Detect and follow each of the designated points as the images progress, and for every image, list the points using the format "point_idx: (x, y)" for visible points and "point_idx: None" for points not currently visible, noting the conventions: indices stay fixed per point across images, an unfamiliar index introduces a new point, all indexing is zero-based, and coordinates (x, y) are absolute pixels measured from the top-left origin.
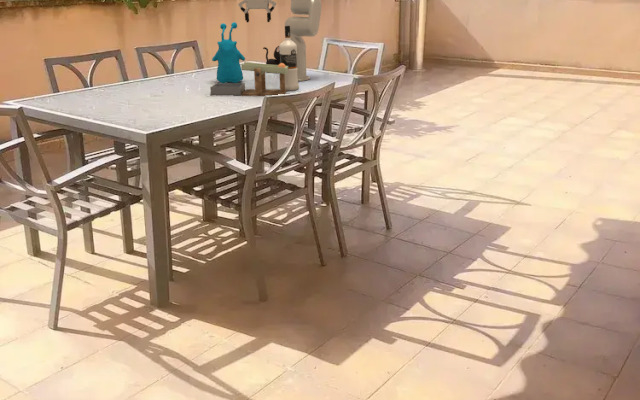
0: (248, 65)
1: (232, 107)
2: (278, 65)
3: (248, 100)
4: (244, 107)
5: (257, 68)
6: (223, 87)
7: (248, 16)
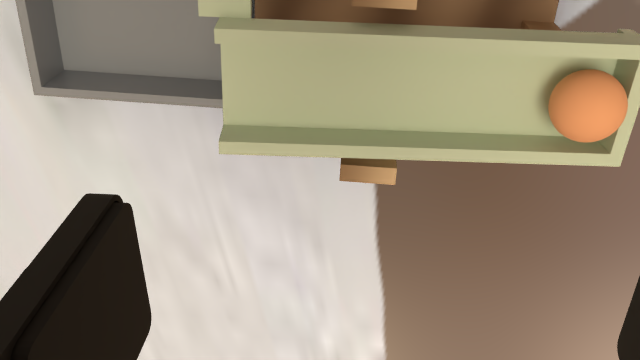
0: (283, 152)
1: (276, 350)
2: (559, 125)
3: (325, 218)
4: (332, 354)
5: (367, 177)
6: (126, 100)
7: (85, 341)
